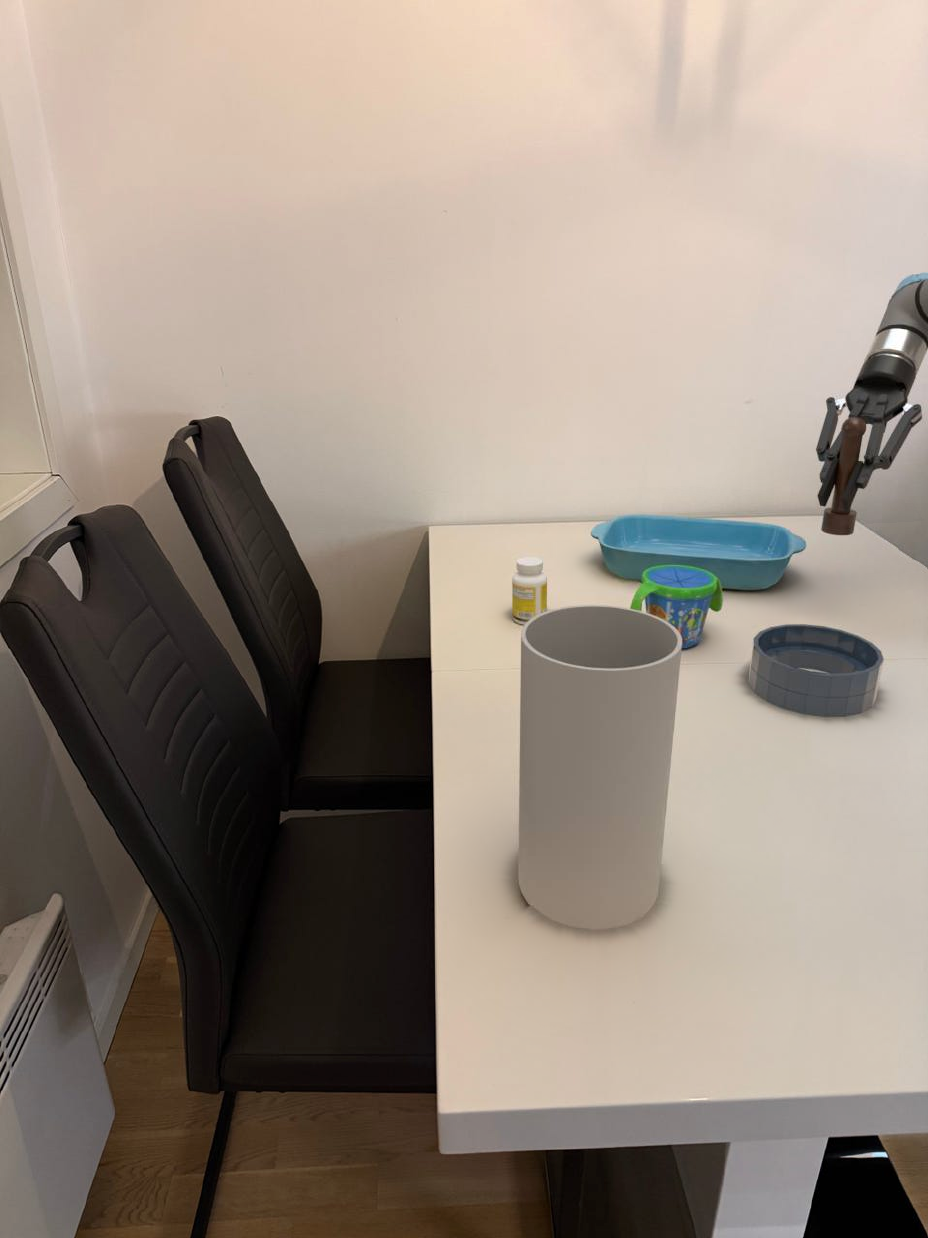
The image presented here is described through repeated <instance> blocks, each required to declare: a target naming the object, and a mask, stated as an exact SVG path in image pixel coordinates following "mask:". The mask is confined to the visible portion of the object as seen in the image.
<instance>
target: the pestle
mask: <svg viewBox="0 0 928 1238" xmlns="http://www.w3.org/2000/svg"><path fill="white" fill-rule="evenodd" d="M840 427H841V428H840V431H842V434H843V436H842V442H841V449H840V455H839V461H838V468H837V474H836V480H835V485H834V488H833V494H832V500H831V507H827V508H824V509H823V515H822V520H821V529H820V530H821V531H822V533H826V534H828V535H834V536H850V535H853V534H854V532H855V526H856V519H857V515H858V513H857V511H856V510H854V509H852V506H851V507H850V510H844V509H843V504H842V500H841V498H842V496H843V494H844V491H845V489H846V487H847V484H848V482H849V479H850V477H851V475H852V472H853V470H854V468H855V465H856V463H857V461H860V456H861V455H860V454H861V449H862V444H863V443H862V442H863V436H864V435H865V434H866V431H867V424H866V423H865V421H864V420H863V419H862V418H860V417H850V418H848V417H847V419H845V420H844V421H843V422H842V424H841V426H840Z"/></svg>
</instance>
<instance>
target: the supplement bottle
mask: <svg viewBox="0 0 928 1238" xmlns="http://www.w3.org/2000/svg"><path fill="white" fill-rule="evenodd" d="M543 568H544V561H543V560H542V558H540V557H534V556H525V557H521V558H518V559H517V560H516V571H517V572H515V573H514V574H513V576H512V578H511V579H512V581H511V582H512V583H511V588H512V590H511V591H512V593H511V595H512V596H511V598H512V599H511V600H512V603H511V605H512V620H513V621H514V622H515V623H517V624H519V625H522V626H524V625H525V624H526V623H527V622H528V621H529V620H530V619H532V618H533V617H535V616H537V615H539V614H541V613H544V612H546V611H548V577H547V575H546V574H545V573H544V572H542V571H543V570H544V569H543Z"/></svg>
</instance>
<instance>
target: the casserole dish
mask: <svg viewBox="0 0 928 1238" xmlns="http://www.w3.org/2000/svg"><path fill="white" fill-rule="evenodd" d="M590 536H591V537H592V538H593V539H595V540H597V541H598V543H599V546H600V551H601V554H602V558H603V560H604V563H605V565H606V568H607V569H608V570H609V572H611V573H612V574H613V575H615V576H616V577H619V578H621V579H624V580H630V581H636V582H642V574H643V572H644V571H645V570H647V569H649V568H651V567H655V566H661V565H684V566H691V567H696V568H700V569H703V570H706V571H708V572H710V573H712V574H713V575H715V576H716V577H717V578H719V581H720V582H721V587H722V590H723V589H724V590H725V589H726V590H737V591H760V590H761V591H762V590H766V589H767V588H770V587H772V586H775V584H776V583H778V582H779V581H780V580H781V578H782V577H783V575H784V574H785V571H786V569H787V567H788V565H789V563H790V561H791V558H792V557H793V555H795V554H799V553H802V552H804V551H805V550H806V548H807V542H806V540H805V538H803V537H802V536H800V535H797V534H795V533H793V532H792V531H791V530H790V529H788V528H786V527H784V526H781V525H777V524H772V523H766V522H758V521H757V522H756V521H744V520H743V521H742V520H731V519H717V518H716V519H713V518H701V517H698V518H697V517H685V516H674V515H673V516H672V515H657V514H656V515H655V514H626V515H619V516H616V517H613V518H612V519H610V520H608V521H605V522H601V523H598V524H596V525H595V526H593V528H592V529H591V531H590Z"/></svg>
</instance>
